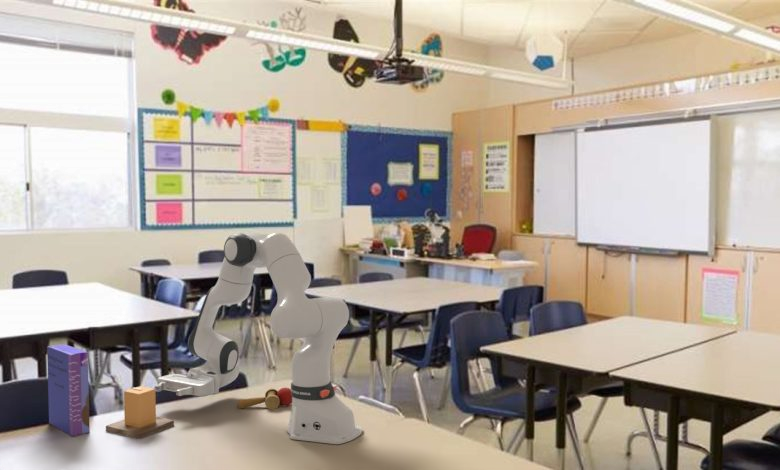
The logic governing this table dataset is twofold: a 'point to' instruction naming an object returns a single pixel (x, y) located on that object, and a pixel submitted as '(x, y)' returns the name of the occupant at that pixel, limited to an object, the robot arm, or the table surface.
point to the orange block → (140, 406)
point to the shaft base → (139, 432)
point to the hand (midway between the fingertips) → (166, 391)
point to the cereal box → (68, 389)
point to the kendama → (269, 399)
